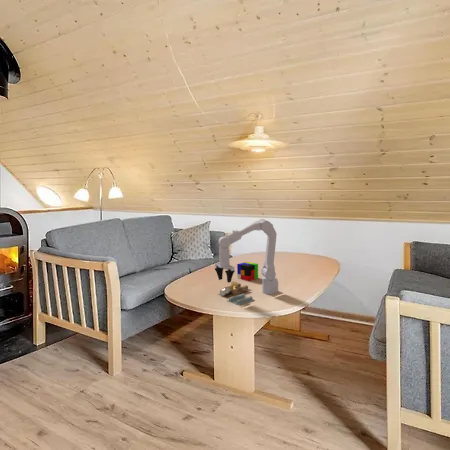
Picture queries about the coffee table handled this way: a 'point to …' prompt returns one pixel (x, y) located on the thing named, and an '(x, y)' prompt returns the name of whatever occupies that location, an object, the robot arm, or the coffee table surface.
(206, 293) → the coffee table surface
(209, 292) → the coffee table surface
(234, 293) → the socket block
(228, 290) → the shiny metal cylinder
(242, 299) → the rack
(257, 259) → the coffee table surface
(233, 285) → the tan blocky piece
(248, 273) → the puzzle toy
